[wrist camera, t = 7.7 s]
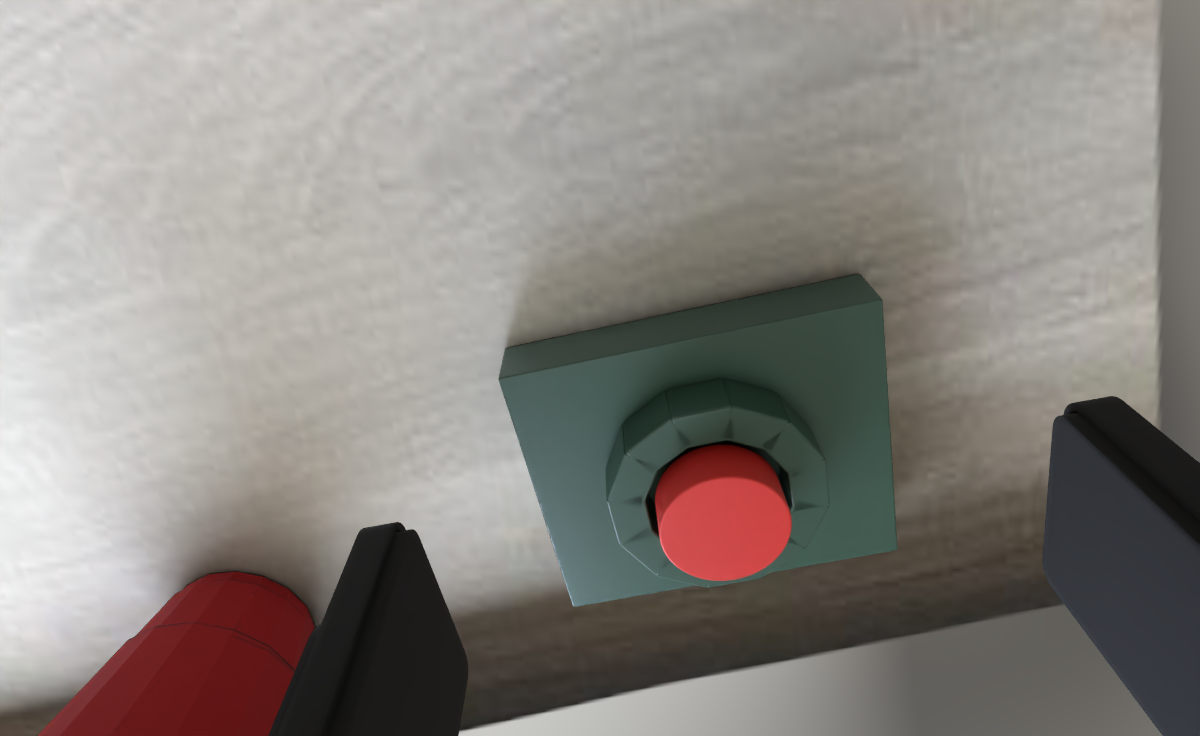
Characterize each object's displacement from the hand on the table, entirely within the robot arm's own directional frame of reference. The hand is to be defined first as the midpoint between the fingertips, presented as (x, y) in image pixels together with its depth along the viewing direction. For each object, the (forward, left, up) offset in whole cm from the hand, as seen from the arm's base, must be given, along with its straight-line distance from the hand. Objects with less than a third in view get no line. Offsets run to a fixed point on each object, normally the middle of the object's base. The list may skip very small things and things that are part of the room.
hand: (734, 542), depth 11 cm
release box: (0, +8, -15) cm, 17 cm away
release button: (0, +8, -11) cm, 14 cm away
